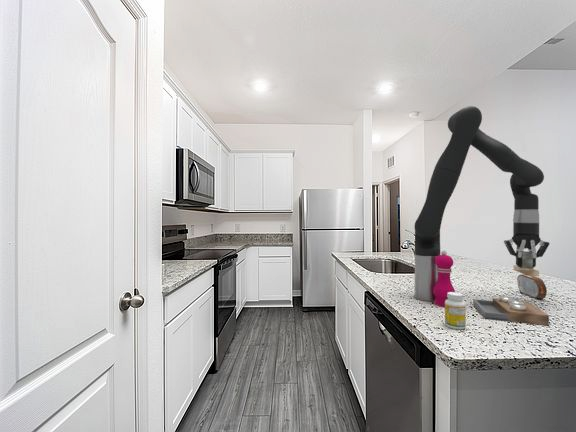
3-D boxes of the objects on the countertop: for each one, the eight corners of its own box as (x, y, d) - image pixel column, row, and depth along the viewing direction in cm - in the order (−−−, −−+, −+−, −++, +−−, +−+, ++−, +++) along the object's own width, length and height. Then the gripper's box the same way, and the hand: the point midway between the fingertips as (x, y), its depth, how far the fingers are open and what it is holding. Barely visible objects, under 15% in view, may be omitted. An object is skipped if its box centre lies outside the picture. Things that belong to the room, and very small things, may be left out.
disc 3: (512, 310, 89) (512, 305, 89) (507, 306, 93) (507, 302, 93) (527, 312, 88) (527, 307, 88) (522, 308, 92) (522, 303, 92)
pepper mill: (453, 302, 108) (452, 249, 108) (457, 308, 101) (457, 251, 101) (431, 301, 110) (431, 249, 110) (434, 306, 103) (434, 251, 103)
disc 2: (510, 306, 93) (510, 302, 93) (506, 303, 97) (506, 299, 97) (525, 308, 92) (525, 303, 92) (521, 304, 95) (520, 300, 95)
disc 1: (500, 302, 98) (500, 298, 98) (497, 299, 102) (497, 295, 102) (514, 303, 96) (514, 299, 96) (510, 300, 100) (510, 296, 100)
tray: (485, 318, 91) (485, 312, 91) (473, 304, 105) (473, 299, 106) (508, 321, 88) (507, 314, 88) (492, 306, 103) (492, 300, 103)
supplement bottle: (464, 331, 80) (464, 297, 80) (443, 326, 84) (442, 294, 84) (467, 326, 84) (467, 293, 84) (447, 321, 88) (446, 290, 88)
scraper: (528, 275, 101) (528, 253, 102) (513, 270, 114) (513, 250, 115) (538, 276, 100) (538, 253, 101) (522, 270, 113) (522, 250, 114)
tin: (547, 301, 110) (547, 279, 110) (538, 301, 111) (538, 279, 111) (523, 291, 125) (523, 272, 125) (515, 291, 125) (515, 272, 125)
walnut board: (508, 321, 88) (507, 311, 88) (492, 306, 103) (492, 298, 103) (548, 325, 85) (548, 315, 85) (526, 309, 100) (526, 301, 100)
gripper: (506, 221, 106) (506, 267, 106) (554, 222, 101) (554, 270, 101) (500, 221, 113) (500, 264, 113) (544, 222, 108) (544, 267, 108)
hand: (525, 267), depth 107 cm, fingers closed on scraper, 3 cm apart
